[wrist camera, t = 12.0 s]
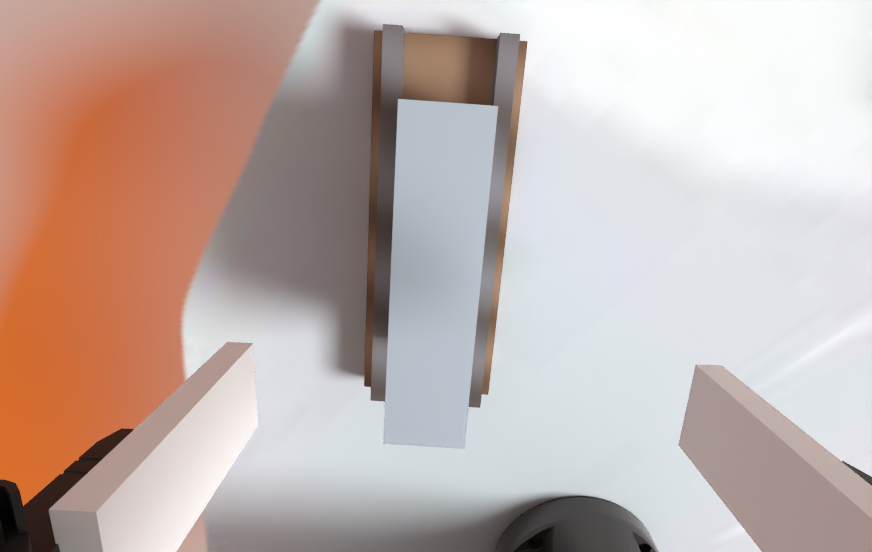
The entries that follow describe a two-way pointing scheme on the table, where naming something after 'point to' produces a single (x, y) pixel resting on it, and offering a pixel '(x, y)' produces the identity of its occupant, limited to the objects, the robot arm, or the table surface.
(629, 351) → the table surface
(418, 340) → the sliding panel
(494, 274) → the floor track
